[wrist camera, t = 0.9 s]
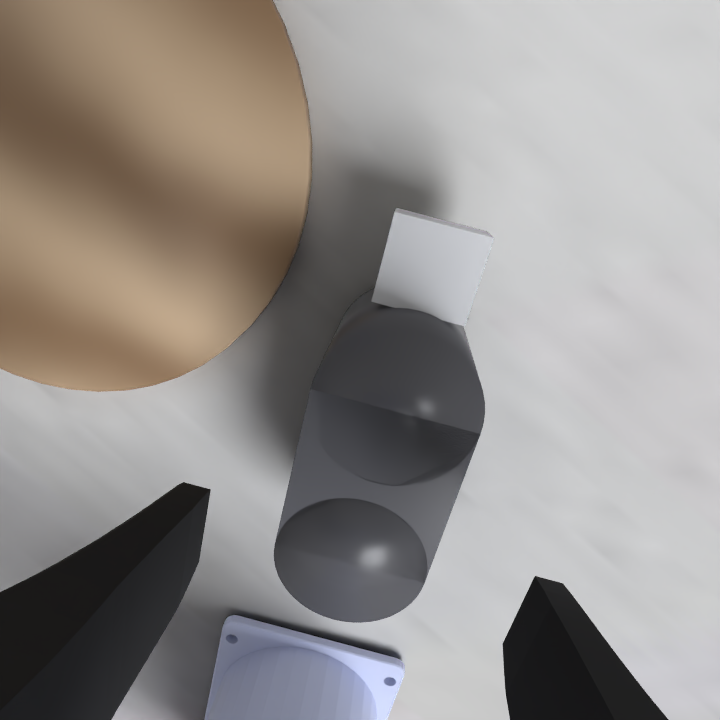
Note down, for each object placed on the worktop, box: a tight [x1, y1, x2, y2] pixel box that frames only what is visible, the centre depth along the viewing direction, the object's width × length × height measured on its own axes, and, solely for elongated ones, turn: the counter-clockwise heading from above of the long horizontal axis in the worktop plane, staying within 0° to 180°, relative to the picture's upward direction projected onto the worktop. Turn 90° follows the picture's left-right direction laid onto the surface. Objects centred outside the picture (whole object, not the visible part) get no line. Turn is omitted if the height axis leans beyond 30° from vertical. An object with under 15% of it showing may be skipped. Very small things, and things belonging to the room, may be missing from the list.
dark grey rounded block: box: [274, 208, 494, 622], centre depth 16 cm, size 12×4×5 cm, turn 166°
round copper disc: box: [0, 0, 312, 392], centre depth 16 cm, size 16×16×1 cm
